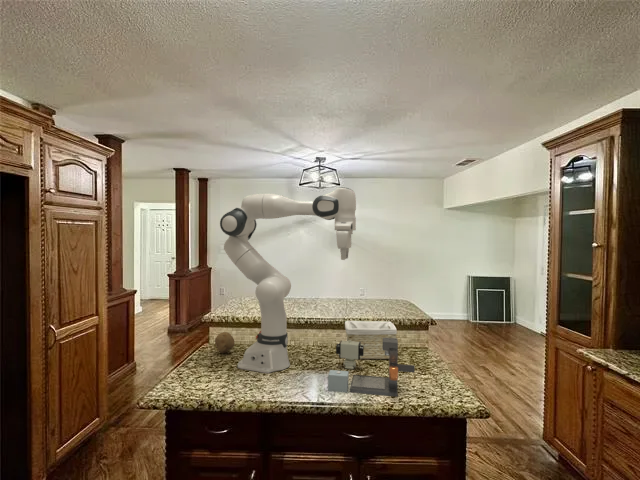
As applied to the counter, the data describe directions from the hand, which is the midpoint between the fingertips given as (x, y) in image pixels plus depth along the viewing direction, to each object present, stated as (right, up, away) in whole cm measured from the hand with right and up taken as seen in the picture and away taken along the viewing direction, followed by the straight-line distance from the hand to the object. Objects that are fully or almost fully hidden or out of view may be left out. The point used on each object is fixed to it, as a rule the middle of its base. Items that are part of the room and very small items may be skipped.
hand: (344, 259), depth 150 cm
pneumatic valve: (+3, -48, +5) cm, 48 cm away
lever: (+16, -41, -23) cm, 49 cm away
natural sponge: (-56, -47, +22) cm, 76 cm away
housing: (-4, -48, -17) cm, 51 cm away
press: (+13, -48, -15) cm, 52 cm away
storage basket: (+14, -48, +23) cm, 55 cm away
